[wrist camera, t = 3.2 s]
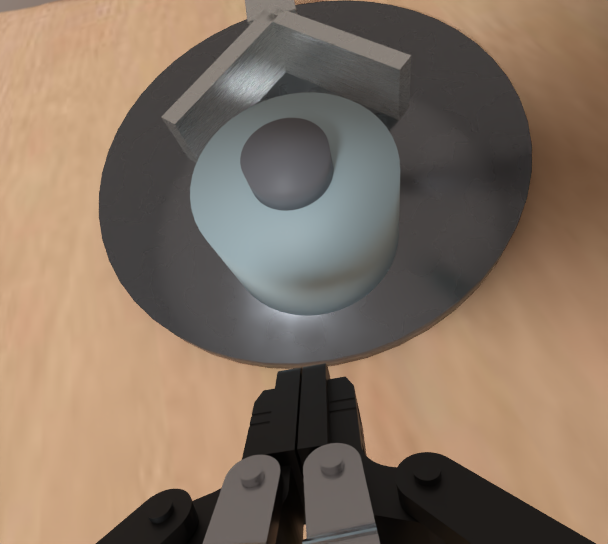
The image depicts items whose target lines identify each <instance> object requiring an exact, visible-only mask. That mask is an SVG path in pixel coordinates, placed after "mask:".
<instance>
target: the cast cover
mask: <svg viewBox="0 0 608 544" xmlns="http://www.w3.org/2000/svg"><path fill="white" fill-rule="evenodd" d="M190 202H191V209H192V213H193V216H194V220H195V222H196V224H197V226H198V228H199V230H200V232H201V233H202V235H203V236H204V237H205V239H206V240H207V242H208V243H209V244H210V245H211V246H212V248H213V249H214V250H215V251H216V253H217V254H218V255H219V256H220V258H221V259H222V260H223V261H224V263H225V264H226V265H227V266H228V267H229V269H230V270H231V271H232V272H233V274H234V275H235V276H236V277H237V279H238V280H239V281H240V282H241V284H242V285H243V286H244V287H245V288H246V290H247V291H248V292H249V293H250V294H251V295H252V296H253V297H255V298H256V299H257V300H259V301H260V302H261V303H263V304H265V305H267V306H268V307H270V308H273V309H275V310H278V311H280V312H284V313H288V314H293V315H302V316H310V315H321V314H328V313H331V312H335V311H338V310H341V309H343V308H346V307H348V306H350V305H352V304H354V303H356V302H357V301H359V300H361V299H362V298H363V297H365V296H366V295H367V294H369V293H370V292H371V291H372V290H373V289H374V288H375V287H376V286H377V285H378V284H379V283H380V282H381V280H382V279H383V278H384V277H385V275H386V274H387V272H388V270H389V268H390V267H391V265H392V262H393V260H394V257H395V255H396V251H397V247H398V238H399V205H400V159H399V154H398V150H397V147H396V144H395V142H394V139H393V137H392V135H391V134H390V132H389V130H388V129H387V127H386V126H385V125H384V124H383V123H382V121H381V120H380V119H379V118H378V117H377V116H376V115H374V114H373V113H372V112H371V111H369V110H368V109H366V108H365V107H363V106H362V105H360V104H358V103H356V102H354V101H352V100H349V99H346V98H343V97H340V96H336V95H331V94H326V93H315V92H309V93H294V94H287V95H283V96H278V97H274V98H271V99H268V100H265V101H263V102H260V103H258V104H256V105H253V106H251V107H250V108H248V109H246V110H244V111H242V112H241V113H239V114H238V115H236V116H235V117H233V118H232V119H231V120H230V121H228V122H227V123H226V124H225V125H224V126H222V127H221V128H220V129H219V130H218V131H217V132H216V134H215V135H214V136H213V137H212V138H211V140H210V141H209V142H208V143H207V145H206V146H205V148H204V150H203V151H202V153H201V154H200V157H199V159H198V161H197V163H196V165H195V168H194V172H193V175H192V180H191V186H190Z"/></svg>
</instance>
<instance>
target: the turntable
mask: <svg viewBox="0 0 608 544" xmlns="http://www.w3.org/2000/svg"><path fill="white" fill-rule="evenodd" d="M245 5H246V13H247V19H246V20H244V21H242V22H239V23H237V24H234V25H232V26H230V27H228V28H226V29H224V30H222V31H220V32H218V33H216V34H214V35H212V36H210V37H209V38H207V39H206V40H204V41H202V42H201V43H199V44H198V45H196V46H194V47H193V48H191V49H190V50H189V51H187V52H186V53H185V54H183V55H182V56H181V57H179V58H178V59H177V60H175V61H174V62H173V63H172V64H171V65H170V66H169V67H167V68H166V69H165V70H164V71H163V72H162V73H161V74H160V75H159V76H158V77H157V78H156V79H155V80H154V81H153V82H152V83H151V84H150V85H149V86H148V87H147V89H146V90H145V91H144V92H143V93H142V94H141V95H140V97H139V98H138V100H137V101H136V102H135V104H134V105H133V106H132V108H131V109H130V110H129V112H128V114H127V115H126V117H125V119H124V120H123V122H122V124H121V126H120V127H119V129H118V131H117V133H116V135H115V138H114V140H113V142H112V145H111V147H110V149H109V151H108V155H107V158H106V162H105V165H104V169H103V172H102V178H101V185H100V192H99V220H100V227H101V233H102V239H103V243H104V246H105V249H106V252H107V255H108V258H109V261H110V263H111V265H112V267H113V269H114V271H115V273H116V275H117V277H118V279H119V281H120V282H121V284H122V285H123V286H124V288H125V289H126V290H127V292H128V293H129V294H130V296H131V297H132V298H133V300H134V301H135V302H136V303H137V304H138V305H139V306H140V307H141V308H142V309H143V310H144V311H145V312H146V313H147V314H148V315H149V316H150V317H151V318H152V319H153V320H155V321H156V322H158V323H159V324H161V325H162V326H163V327H165V328H166V329H168V330H169V331H171V332H172V333H174V334H175V335H177V336H178V337H180V338H181V339H183V340H184V341H186V342H188V343H190V344H192V345H194V346H196V347H198V348H200V349H202V350H204V351H206V352H208V353H211V354H213V355H216V356H219V357H222V358H226V359H229V360H232V361H235V362H238V363H243V364H249V365H255V366H261V367H267V368H285V369H295V368H302V369H303V367H306V366H312V365H318V364H324V363H326V364H327V366H335V365H339V364H343V363H348V362H352V361H356V360H360V359H364V358H368V357H371V356H373V355H376V354H379V353H381V352H384V351H386V350H389V349H392V348H394V347H397V346H399V345H401V344H403V343H405V342H407V341H409V340H410V339H412V338H414V337H416V336H418V335H420V334H421V333H423V332H425V331H427V330H429V329H430V328H432V327H433V326H434V325H436V324H437V323H438V322H440V321H441V320H442V319H444V318H445V317H446V316H448V315H449V314H451V313H452V312H453V311H455V310H456V309H457V308H458V307H459V306H460V305H461V304H462V303H463V302H464V301H465V300H466V299H467V298H468V297H469V296H470V295H471V294H472V293H473V292H474V291H475V290H476V289H477V288H478V287H479V286H480V285H481V283H482V282H483V281H484V280H485V278H486V277H487V276H488V274H489V273H490V272H491V270H492V269H493V268H494V266H495V265H496V264H497V262H498V260H499V259H500V257H501V255H502V253H503V251H504V249H505V248H506V246H507V244H508V242H509V240H510V239H511V237H512V235H513V233H514V231H515V229H516V227H517V224H518V222H519V219H520V216H521V213H522V210H523V208H524V205H525V202H526V199H527V195H528V189H529V184H530V178H531V172H532V144H531V138H530V132H529V126H528V121H527V118H526V115H525V112H524V109H523V107H522V104H521V101H520V98H519V96H518V95H517V93H516V91H515V89H514V87H513V86H512V84H511V82H510V80H509V79H508V77H507V76H506V74H505V73H504V72H503V71H502V69H501V68H500V67H499V66H498V64H497V63H496V62H495V61H494V59H493V58H492V57H490V56H489V55H488V54H487V53H486V52H485V51H484V50H483V49H482V48H481V47H480V46H479V45H478V44H476V43H475V42H474V41H472V40H471V39H469V38H468V37H467V36H465V35H464V34H462V33H461V32H459V31H458V30H456V29H454V28H452V27H450V26H449V25H447V24H445V23H443V22H441V21H439V20H437V19H435V18H432V17H429V16H427V15H424V14H421V13H419V12H416V11H413V10H409V9H405V8H401V7H397V6H393V5H387V4H381V3H374V2H364V1H322V2H315V3H307V4H299V5H295V1H294V0H245ZM309 92H315V93H326V94H331V95H336V96H340V97H343V98H346V99H349V100H352V101H354V102H356V103H358V104H360V105H362V106H363V107H365V108H366V109H368V110H369V111H371V112H372V113H373V114H374V115H376V116H377V117H378V118H379V119H380V120H381V121H382V123H383V124H384V125H385V126H386V127H387V129H388V130H389V132H390V134H391V135H392V137H393V139H394V142H395V144H396V147H397V150H398V154H399V159H400V205H399V238H398V247H397V251H396V255H395V257H394V260H393V262H392V265H391V267H390V268H389V270H388V272H387V274H386V275H385V277H384V278H383V279H382V280H381V282H380V283H379V284H378V285H377V286H376V287H375V288H374V289H373V290H372V291H371V292H370V293H369V294H367V295H366V296H365V297H363V298H362V299H361V300H359V301H357V302H356V303H354V304H352V305H350V306H348V307H346V308H343V309H341V310H338V311H335V312H331V313H328V314H321V315H310V316H302V315H293V314H288V313H284V312H280V311H278V310H275V309H273V308H270V307H268V306H267V305H265V304H263V303H261V302H260V301H259V300H257V299H256V298H255V297H253V296H252V295H251V294H250V293H249V292H248V291H247V290H246V288H245V287H244V286H243V285H242V284H241V282H240V281H239V280H238V279H237V277H236V276H235V275H234V274H233V272H232V271H231V270H230V269H229V267H228V266H227V265H226V264H225V263H224V261H223V260H222V259H221V258H220V256H219V255H218V254H217V253H216V251H215V250H214V249H213V248H212V246H211V245H210V244H209V243H208V242H207V240H206V239H205V237H204V236H203V235H202V233H201V232H200V230H199V228H198V226H197V224H196V222H195V220H194V216H193V213H192V209H191V202H190V186H191V180H192V175H193V172H194V168H195V165H196V163H197V161H198V159H199V157H200V154H201V153H202V151H203V150H204V148H205V146H206V145H207V143H208V142H209V141H210V140H211V138H212V137H213V136H214V135H215V134H216V132H217V131H218V130H219V129H220V128H221V127H222V126H224V125H225V124H226V123H227V122H228V121H230V120H231V119H232V118H233V117H235V116H236V115H238V114H239V113H241V112H242V111H244V110H246V109H248V108H250V107H251V106H253V105H256V104H258V103H260V102H263V101H265V100H268V99H271V98H274V97H278V96H283V95H287V94H294V93H309Z"/></svg>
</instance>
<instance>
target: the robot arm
mask: <svg viewBox="0 0 608 544" xmlns="http://www.w3.org/2000/svg"><path fill="white" fill-rule="evenodd" d="M305 524H306V532H307V539H304V540H303V525H305ZM96 544H596V543H594V542H592V541H591V540H589V539H587V538H585V537H584V536H582V535H580V534H579V533H577V532H575V531H573V530H572V529H570V528H568V527H566V526H565V525H563V524H561V523H560V522H558V521H556V520H554V519H553V518H551V517H549V516H548V515H546V514H544V513H542V512H541V511H539V510H537V509H535V508H534V507H532V506H530V505H529V504H527V503H525V502H523V501H522V500H520V499H518V498H517V497H515V496H513V495H511V494H510V493H508V492H506V491H504V490H503V489H501V488H499V487H498V486H496V485H494V484H492V483H491V482H489V481H487V480H486V479H484V478H482V477H480V476H479V475H477V474H475V473H473V472H472V471H470V470H468V469H467V468H465V467H463V466H461V465H460V464H458V463H456V462H455V461H453V460H451V459H449V458H448V457H446V456H443V455H441V454H437V453H431V452H423V453H417V454H414V455H411V456H409V457H407V458H406V459H404V460H403V461H402V462H401V463H400V464H399V466H398V467H397V468H396V467H389V466H383V465H380V464H377V463H375V462H373V461H372V460H370V459H369V458H368V457H367V456H366V449H365V442H364V434H363V427H362V422H361V417H360V413H359V408H358V403H357V399H356V394H355V389H354V385H353V384H352V383H351V382H350V381H349V380H348V379H347V378H346V377H340V378H334V379H330V375H329V370H328V367H327V364H326V363H324V364H318V365H312V366H306V367H303V369H302V368H295V369H290V370H284V371H278V373H277V379H276V386H275V389H270V390H264V391H263V392H262V393H261V395H260V396H259V397H258V399H257V400H256V401H255V403H254V407H253V412H252V417H251V421H250V427H249V430H248V435H247V439H246V444H245V448H244V453H243V457H242V460H241V461H239V462H238V463H237V464H235V465H234V466H233V467H232V468H231V469H230V470H229V472H228V473H227V475H226V477H225V480H224V483H223V486H222V488H221V489H219V490H217V491H215V492H213V493H211V494H208V495H206V496H203V497H201V498H199V499H196V500H194V501H192V499H191V497H190V495H189V494H188V493H187V492H186V491H184V490H182V489H169V490H165V491H162V492H160V493H158V494H156V495H154V496H152V497H151V498H149V499H148V500H147V501H146V502H144V503H143V504H142V505H141V506H140V507H139V508H137V509H136V510H135V511H134V512H133V513H131V514H130V515H129V516H128V517H127V518H126V519H124V520H123V521H122V522H121V523H120V524H118V525H117V526H116V527H115V528H114V529H113V530H111V531H110V532H109V533H108V534H107V535H106V536H104V537H103V538H102V539H101V540H100V541H98V542H97V543H96Z"/></svg>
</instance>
